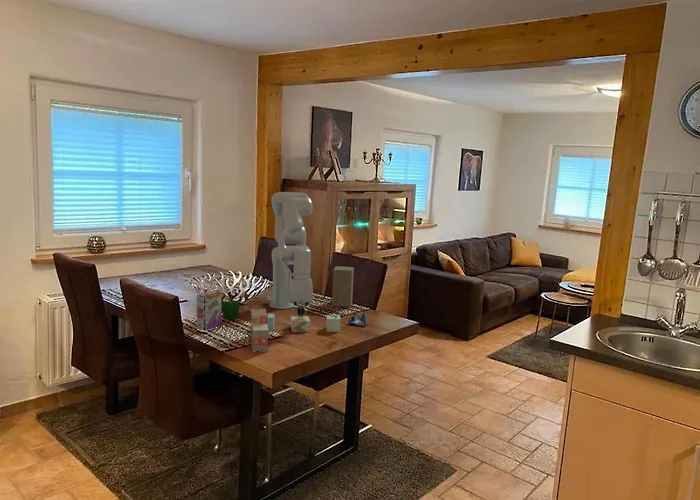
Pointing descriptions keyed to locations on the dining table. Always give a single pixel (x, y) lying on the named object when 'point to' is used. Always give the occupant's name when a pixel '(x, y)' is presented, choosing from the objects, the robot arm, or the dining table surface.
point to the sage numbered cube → (333, 323)
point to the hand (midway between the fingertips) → (300, 315)
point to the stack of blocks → (259, 330)
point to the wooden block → (342, 286)
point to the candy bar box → (209, 310)
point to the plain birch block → (300, 324)
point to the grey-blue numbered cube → (270, 321)
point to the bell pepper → (230, 309)
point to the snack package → (358, 319)
